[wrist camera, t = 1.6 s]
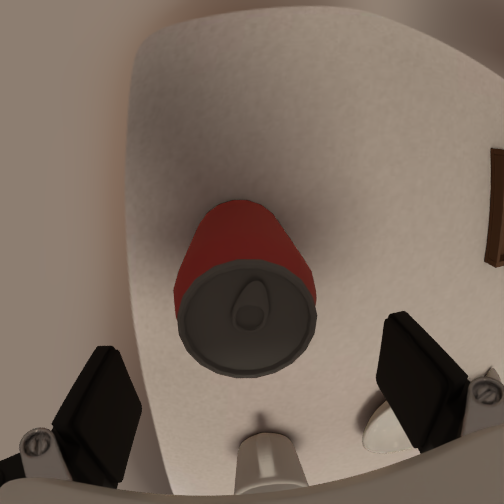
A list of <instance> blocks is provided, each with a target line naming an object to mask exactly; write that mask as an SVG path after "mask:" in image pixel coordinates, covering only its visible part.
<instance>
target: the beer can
mask: <svg viewBox="0 0 504 504" xmlns="http://www.w3.org/2000/svg"><path fill="white" fill-rule="evenodd" d="M173 291H174V303H175V314H176V319H177V321H178V331H179V336H180V338H181V340H182V342H183V344H184V346H185V348H186V350H187V352H188V353H189V354H190V355H191V356H192V357H193V358H194V359H195V360H196V361H197V362H198V363H199V364H200V365H202V366H204V367H206V368H208V369H209V370H211V371H213V372H215V373H217V374H221V375H225V376H229V377H233V378H258V377H261V376H265V375H269V374H273V373H276V372H278V371H279V370H281V369H283V368H285V367H287V366H288V365H290V364H292V363H293V362H294V361H295V360H296V359H297V358H298V357H299V356H300V355H301V354H302V353H303V352H304V351H305V350H306V349H307V347H308V345H309V343H310V341H311V339H312V337H313V335H314V333H315V327H316V320H317V312H316V308H315V306H316V289H315V285H314V280H313V276H312V271H311V270H310V268H309V266H308V265H307V263H306V262H305V260H304V259H303V257H302V256H301V254H300V253H299V251H298V250H297V248H296V247H295V245H294V244H293V242H292V241H291V239H290V238H289V237H288V235H287V234H286V232H285V231H284V229H283V228H282V226H281V225H280V224H279V222H278V221H277V219H276V218H275V216H274V215H273V214H272V213H271V212H270V211H269V210H267V209H266V208H265V207H263V206H262V205H260V204H257V203H254V202H251V201H248V200H232V201H229V202H225V203H222V204H219V205H218V206H216V207H215V208H213V209H212V210H211V211H209V212H208V213H207V214H206V216H205V217H204V218H203V220H202V221H201V222H200V224H199V226H198V228H197V230H196V232H195V235H194V237H193V239H192V241H191V244H190V246H189V248H188V251H187V253H186V255H185V257H184V260H183V262H182V264H181V267H180V269H179V272H178V276H177V279H176V283H175V286H174V290H173Z"/></svg>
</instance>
